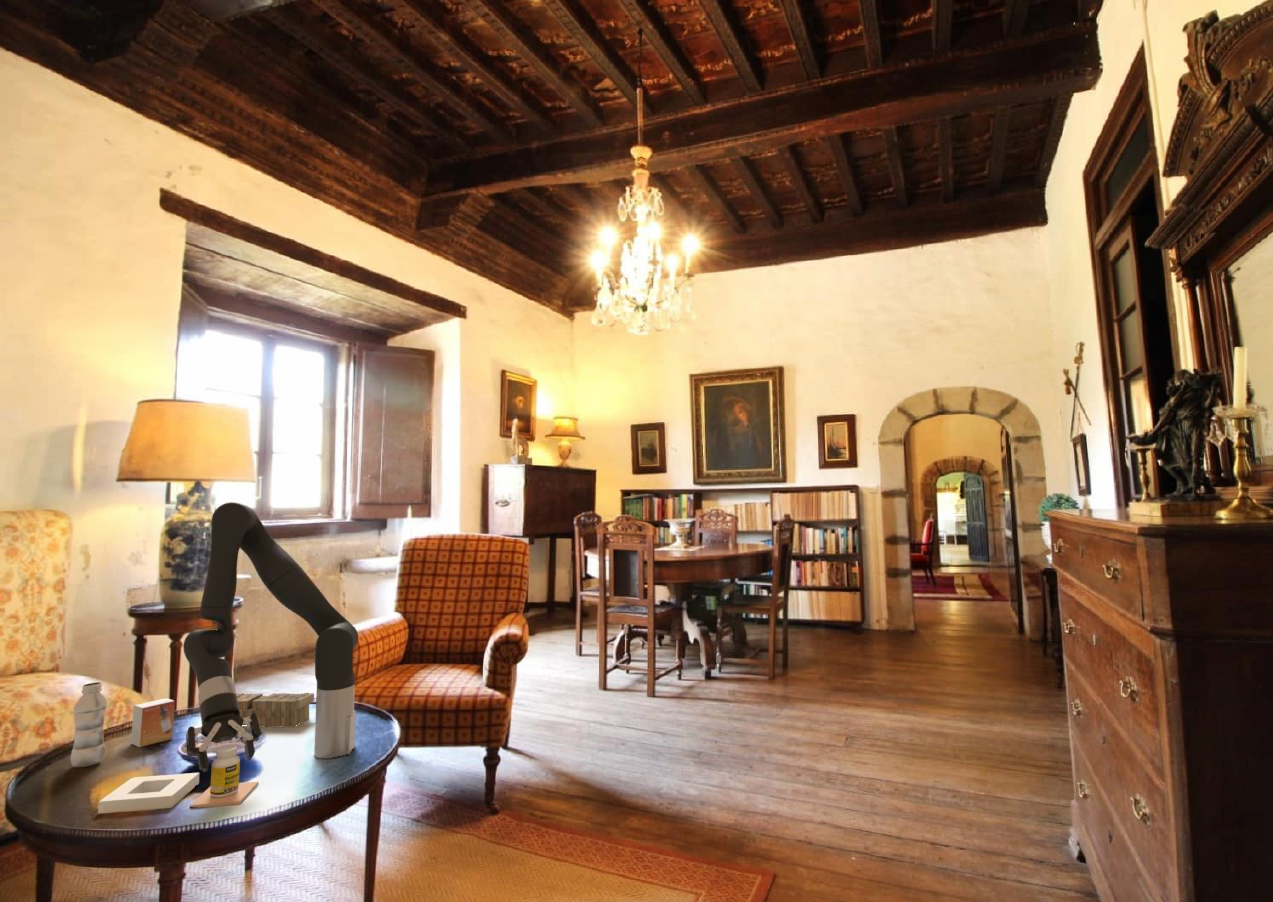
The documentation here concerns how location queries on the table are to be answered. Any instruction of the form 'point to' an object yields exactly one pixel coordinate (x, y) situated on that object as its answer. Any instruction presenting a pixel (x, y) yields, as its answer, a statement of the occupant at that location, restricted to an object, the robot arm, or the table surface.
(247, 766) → the table surface
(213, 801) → the terracotta tile
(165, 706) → the small box
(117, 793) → the block
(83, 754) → the plastic bottle
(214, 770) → the supplement bottle
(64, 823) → the table surface
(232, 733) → the robot arm
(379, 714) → the table surface
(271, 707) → the block tower
